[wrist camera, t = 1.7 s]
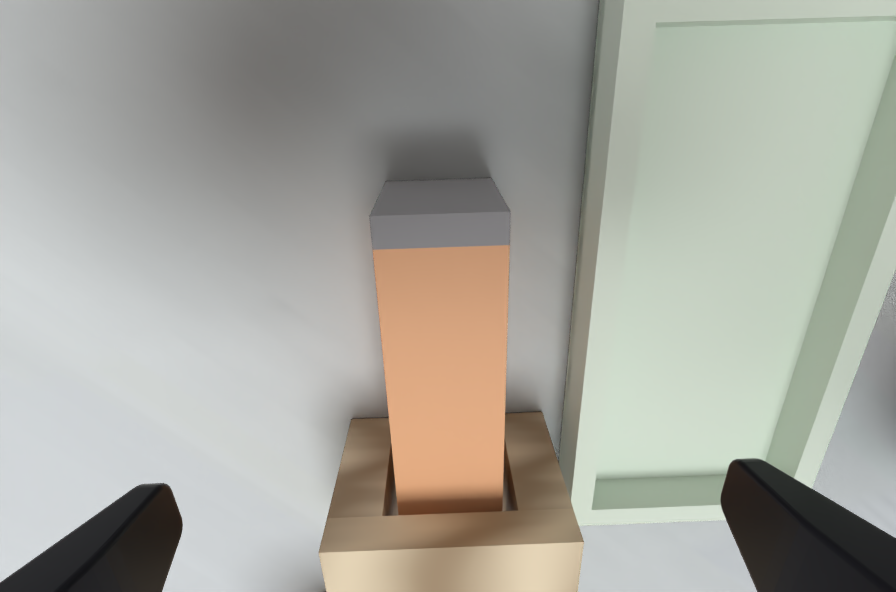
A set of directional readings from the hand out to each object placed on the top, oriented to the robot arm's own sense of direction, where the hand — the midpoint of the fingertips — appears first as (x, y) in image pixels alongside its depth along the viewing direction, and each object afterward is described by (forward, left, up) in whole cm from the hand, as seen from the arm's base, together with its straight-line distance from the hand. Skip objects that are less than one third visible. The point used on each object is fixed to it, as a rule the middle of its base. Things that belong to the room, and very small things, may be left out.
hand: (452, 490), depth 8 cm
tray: (-11, +2, -13) cm, 17 cm away
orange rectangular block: (0, +4, -13) cm, 13 cm away
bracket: (0, +11, -13) cm, 17 cm away
